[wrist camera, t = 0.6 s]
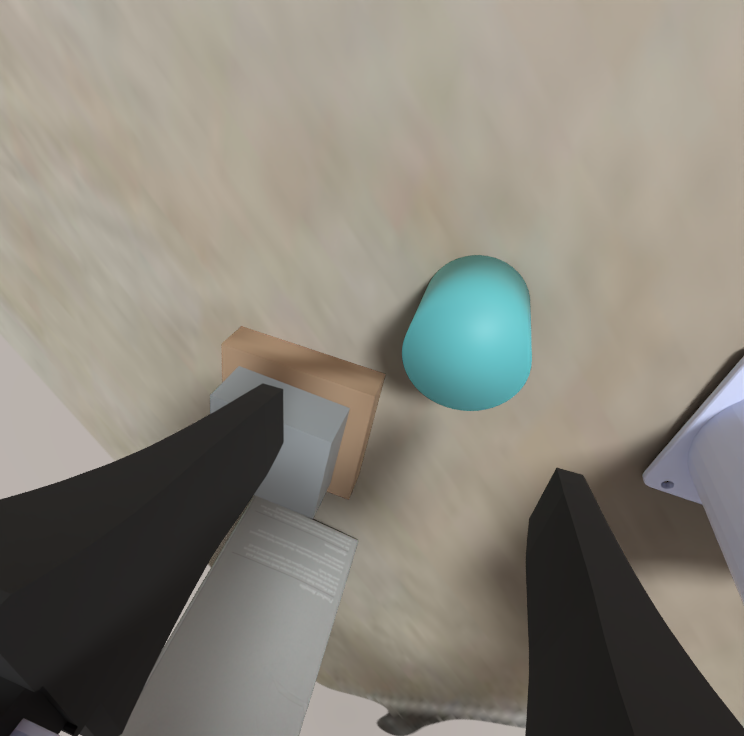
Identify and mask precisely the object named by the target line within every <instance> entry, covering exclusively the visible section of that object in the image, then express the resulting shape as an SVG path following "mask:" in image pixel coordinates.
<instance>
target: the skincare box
mask: <svg viewBox="0 0 744 736" xmlns="http://www.w3.org/2000/svg"><path fill="white" fill-rule="evenodd" d="M357 544H358V540H357V539H355V538H352V537H350V536H348V535H346V534H344V533H341V532H339V531H337V530H335V529H332V528H330V527H328V526H326V525H324V524H321V523H319V522H317V521H315V520H313V519H310V518H308V517H306V516H304V515H301V514H299V513H297V512H294V511H292V510H290V509H287V508H285V507H282V506H280V505H277V504H275V503H273V502H270V501H268V500H265V499H263V498H260V497H258V496H256V495H255V496H254V497H253V499H252V500H251V502H250V503H249V505H248V507H247V508H246V510H245V512H244V513H243V515H242V517H241V518H240V520H239V522H238V523H237V525H236V527H235V528H234V530H233V532H232V533H231V535H230V537H229V538H228V540H227V542H226V543H225V545H224V547H223V549H222V550H221V552H220V554H219V555H218V557H217V559H216V560H215V562H214V564H213V566H212V567H211V569H210V571H209V572H208V574H207V576H206V577H205V579H204V581H203V582H202V584H201V586H200V587H199V589H198V591H197V592H196V594H195V596H194V597H193V599H192V601H191V603H190V604H189V606H188V608H187V609H186V611H185V613H184V614H183V616H182V618H181V619H180V621H179V623H178V624H177V626H176V628H175V629H174V631H173V633H172V634H171V636H170V638H169V640H168V641H167V643H166V644H165V646H164V648H163V649H162V651H161V653H160V655H159V657H158V659H157V661H156V663H155V665H154V667H153V669H152V671H151V673H150V675H149V677H148V679H147V682H146V684H145V686H144V688H143V690H142V692H141V694H140V696H139V699H138V701H137V703H136V705H135V707H134V709H133V711H132V713H131V716H130V718H129V720H128V722H127V724H126V727H125V729H124V731H123V733H122V734H121V735H120V736H299V734H300V731H301V727H302V724H303V720H304V717H305V714H306V711H307V708H308V705H309V702H310V698H311V695H312V691H313V689H314V685H315V682H316V679H317V675H318V672H319V669H320V666H321V662H322V659H323V656H324V652H325V649H326V646H327V643H328V640H329V636H330V633H331V630H332V627H333V623H334V620H335V617H336V613H337V610H338V607H339V604H340V601H341V597H342V594H343V591H344V588H345V584H346V581H347V578H348V575H349V571H350V568H351V565H352V561H353V558H354V555H355V551H356V548H357Z"/></svg>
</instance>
